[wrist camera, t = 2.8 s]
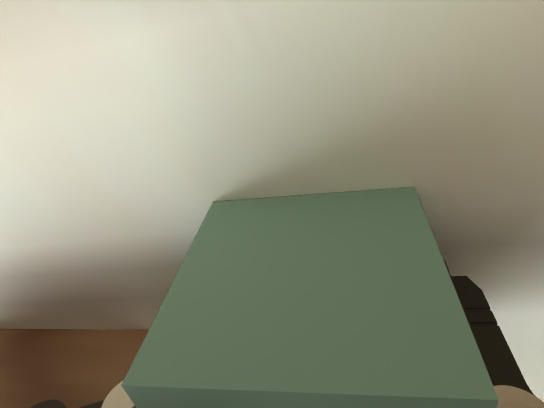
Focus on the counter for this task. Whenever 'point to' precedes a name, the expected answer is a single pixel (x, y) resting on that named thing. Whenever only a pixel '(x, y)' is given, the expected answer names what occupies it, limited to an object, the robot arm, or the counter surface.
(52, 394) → the walnut block
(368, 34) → the counter surface
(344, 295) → the teal cube
